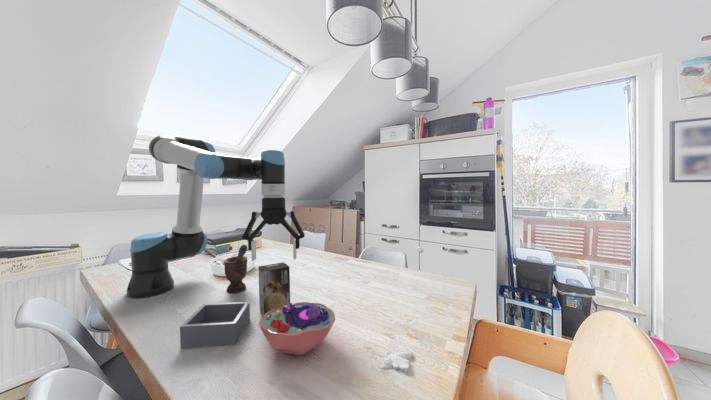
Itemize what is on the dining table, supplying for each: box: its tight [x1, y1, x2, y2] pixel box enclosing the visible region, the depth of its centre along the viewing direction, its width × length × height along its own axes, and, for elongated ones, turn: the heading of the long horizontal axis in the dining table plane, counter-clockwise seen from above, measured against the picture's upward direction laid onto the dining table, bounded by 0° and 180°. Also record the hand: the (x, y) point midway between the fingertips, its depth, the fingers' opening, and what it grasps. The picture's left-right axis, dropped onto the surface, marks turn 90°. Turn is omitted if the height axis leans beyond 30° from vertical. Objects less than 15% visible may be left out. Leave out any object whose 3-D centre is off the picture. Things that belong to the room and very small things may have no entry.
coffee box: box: [257, 261, 291, 317], centre depth 86 cm, size 9×6×16 cm
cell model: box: [258, 301, 336, 356], centre depth 68 cm, size 17×20×11 cm
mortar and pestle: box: [223, 244, 248, 294], centre depth 104 cm, size 12×9×20 cm
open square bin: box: [179, 301, 251, 350], centre depth 74 cm, size 14×13×6 cm
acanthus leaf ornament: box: [380, 350, 414, 373], centre depth 62 cm, size 8×7×2 cm
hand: (274, 259), depth 85 cm, fingers open, 13 cm apart
